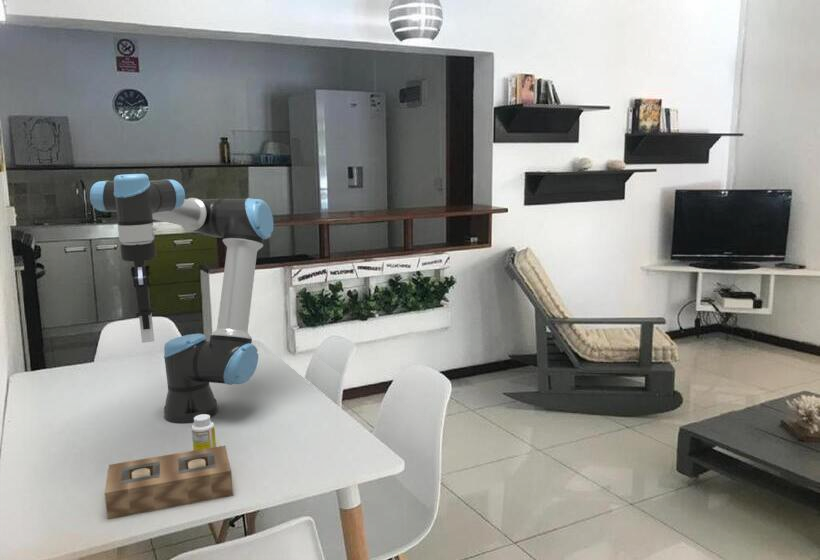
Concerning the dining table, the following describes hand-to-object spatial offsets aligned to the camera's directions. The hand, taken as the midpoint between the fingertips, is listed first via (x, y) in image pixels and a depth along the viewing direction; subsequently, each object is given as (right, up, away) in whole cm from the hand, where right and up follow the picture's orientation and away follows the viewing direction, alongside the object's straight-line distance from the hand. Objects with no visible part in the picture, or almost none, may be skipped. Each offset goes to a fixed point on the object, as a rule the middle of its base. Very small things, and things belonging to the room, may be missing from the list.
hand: (148, 341), depth 161 cm
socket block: (+7, -34, -5) cm, 35 cm away
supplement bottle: (+10, -30, +13) cm, 34 cm away
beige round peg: (+2, -34, -7) cm, 35 cm away
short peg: (+13, -33, -3) cm, 36 cm away
